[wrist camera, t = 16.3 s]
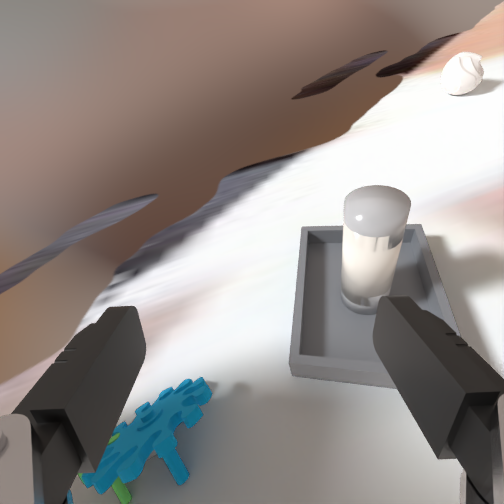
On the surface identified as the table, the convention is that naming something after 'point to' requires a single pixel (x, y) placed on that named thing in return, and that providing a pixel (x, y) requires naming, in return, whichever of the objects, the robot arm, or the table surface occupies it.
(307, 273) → the parts tray
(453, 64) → the white ball
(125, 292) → the table surface
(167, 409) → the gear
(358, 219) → the fuse
